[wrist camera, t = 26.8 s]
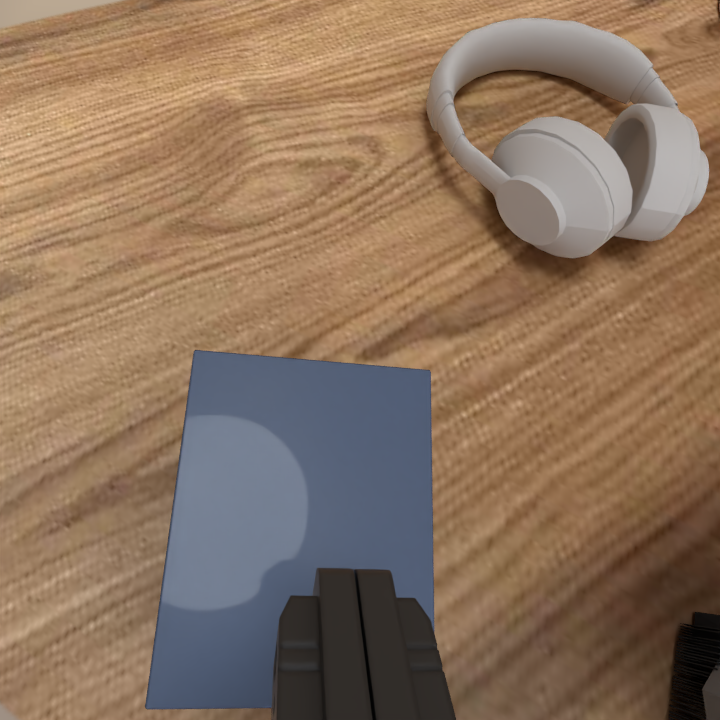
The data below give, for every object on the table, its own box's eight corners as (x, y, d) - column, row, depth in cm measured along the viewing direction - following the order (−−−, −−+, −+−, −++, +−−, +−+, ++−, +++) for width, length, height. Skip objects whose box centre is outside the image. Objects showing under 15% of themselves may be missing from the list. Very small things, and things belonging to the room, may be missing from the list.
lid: (195, 355, 25) (193, 349, 24) (425, 375, 27) (431, 369, 26) (148, 704, 20) (144, 710, 20) (429, 701, 22) (436, 706, 21)
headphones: (707, 249, 42) (579, 70, 49) (794, 171, 35) (629, -23, 42) (490, 300, 37) (386, 93, 44) (540, 221, 30) (406, -8, 38)
